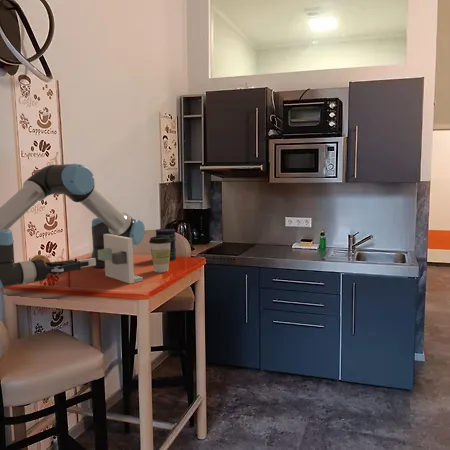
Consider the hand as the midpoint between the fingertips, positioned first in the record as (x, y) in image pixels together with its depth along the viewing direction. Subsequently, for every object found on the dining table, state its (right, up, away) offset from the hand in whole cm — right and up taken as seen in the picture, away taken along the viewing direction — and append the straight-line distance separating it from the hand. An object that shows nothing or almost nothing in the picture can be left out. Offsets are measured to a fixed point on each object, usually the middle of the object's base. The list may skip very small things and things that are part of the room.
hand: (94, 261), depth 180 cm
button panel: (+8, -8, +16) cm, 19 cm away
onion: (-28, -9, +19) cm, 35 cm away
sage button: (0, 0, +17) cm, 17 cm away
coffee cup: (+22, -7, +29) cm, 37 cm away
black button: (+9, -1, +8) cm, 12 cm away
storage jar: (+21, -3, +55) cm, 59 cm away
